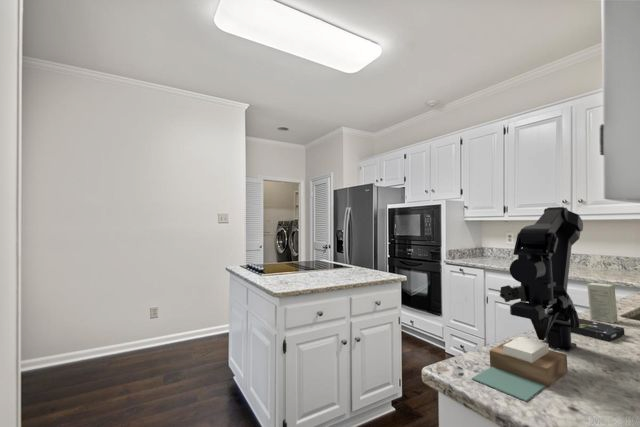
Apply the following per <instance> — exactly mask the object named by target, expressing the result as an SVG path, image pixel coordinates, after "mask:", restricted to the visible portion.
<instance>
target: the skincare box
mask: <svg viewBox="0 0 640 427" xmlns="http://www.w3.org/2000/svg"><path fill="white" fill-rule="evenodd" d="M587 295H588V306H589V308H588V309H589V318H590V320H592V321H593V320H594V321H598V322H606V323H611V324H614V323H616V322H618V321H619V320H618V310H617V300H616V299H617V298H616V288H615V284H611V283H610V284H609V283H599V282H590V283H587Z"/></svg>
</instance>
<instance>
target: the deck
mask: <svg viewBox="0 0 640 427" xmlns="http://www.w3.org/2000/svg"><path fill="white" fill-rule="evenodd" d="M512 340H513V339H509V340H507V341H505V342H504V343H501V344H499V345H497V346H495V347H493V348H492V349H489V350H488V351H489V368H490V367H495V368H498V369H501V370H504V371H506V372H509V373H512V374H515V375H518V376H520V377H523V378H526V379H529V380H532V381H534V382H537V383H540V384H543V385H545V388H547V389H548V388H549V389H550V387H551V386H553V385H554V384H555V383H556V382H558V381H559V380H560V379H561V378H562V377H564V376H565V375H567V373H568V372H569V371H568V369H569V368H568V355H567V354H566V353H561V352H559V351H554V350H551V349H549V352H548V353H547V354H545V355H544V356H542V357H541V358H539V359H537V360H536V361H534V362H533V363H531V362H528V361H525V360H521V359H518V358H515V357H512V356H509V355H506V354H503V345H505V344H507V343H509V342H510V341H512Z"/></svg>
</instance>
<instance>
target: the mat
mask: <svg viewBox="0 0 640 427" xmlns="http://www.w3.org/2000/svg"><path fill="white" fill-rule="evenodd" d="M471 380H472V381H475V382H477V383H479V384H482V385H484V386H487V387H490V388H492V389H494V390H497V391H500V392H501V393H504V394H506V395H509V396H511V397H514V398H516V399H518V400H521V401H522V402H523V401H524V402H526V403H527V402H528V401H530V399H532V398H533V397H535V396H536V395H537V394H538V393H540V392H541V391H542V390H543V389H545V388H546V387H545V385H543V384H540V383H537V382H534V381H532V380H529V379H526V378H523V377H520V376H518V375H515V374H512V373H509V372H506V371H504V370H501V369H498V368H495V367H490V366H489V368H487V369H485V370H484V371H482V372H480V373H478V374H477V375H476V374H475V375H474V376H473V377H472V378H471Z"/></svg>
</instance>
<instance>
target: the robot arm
mask: <svg viewBox="0 0 640 427" xmlns="http://www.w3.org/2000/svg"><path fill="white" fill-rule="evenodd" d="M583 230H584V222H583V219H582V218H581V216H580V215H579V213H575V212H573V211H570V210H569V209H568V208H567V207H564V206H555V207H554V206H553V207H547V208H544V210H543V214H542V215H541V216H540V217H539V218H538V220H536V222H535V223H534V224H530V225H526V226H524V227H522V228H521V229H520V231H519V232H517V235H516V239H515V245H514V248H513V255H514V256H517V258H516V259H515V260H513V261H512V262H511V263H510V266H509V273H510V275H511V277H512V278H513V279H514V280H515V281H517V282H518V283H520V285H519V286H514V287H512V286H511V285H509V284H508V285H505V286H504V285H503V286H501V287H500V290H499V292H500V293H499V297H500V298H502V299H504V303H509V302H510V301H516V300H520V301H518V302H514V303H512V304H511V305H510V306H509V313H510V315H511V316H514V317H517V318H518V317H519V318H524V319H529V320H530V322H531V324H532V326H533V328H534V331H535V334H536V336H537V337H536V338H537V339H538V341H541V342H544V343H548V345H549V347H550V348H552V349H557V350H561V351H565V352H570V351H572V350H573V349H574V348H576V347H577V343H574V342H572V333H571V328H575V327H580V323H579V315H578V312H577V310H576V308H575V306H574V303H573V300H572V298H571V296H570V295H569V293H568V281H569V273H570V263H571V254H572V246H573V245H574V244H575V243H576V242H577V241H578V240H580V236H581V232H583ZM569 320H570V321H569Z"/></svg>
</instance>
